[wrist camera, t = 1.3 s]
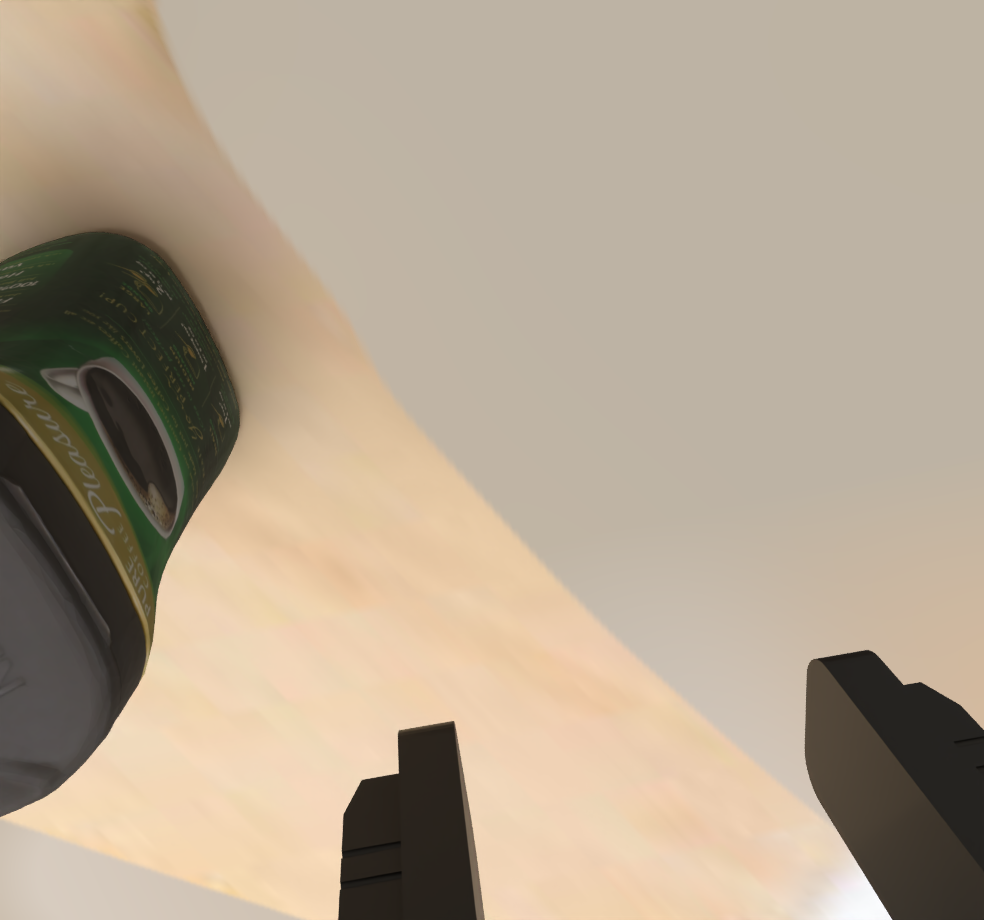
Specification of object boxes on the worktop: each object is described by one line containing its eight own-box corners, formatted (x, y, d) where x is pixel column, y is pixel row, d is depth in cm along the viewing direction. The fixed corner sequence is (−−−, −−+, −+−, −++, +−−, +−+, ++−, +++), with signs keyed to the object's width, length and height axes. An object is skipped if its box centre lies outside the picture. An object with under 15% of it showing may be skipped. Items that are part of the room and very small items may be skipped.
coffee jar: (-63, 282, 30) (-630, 531, 13) (153, 201, 30) (-141, 348, 13) (81, 518, 34) (-214, 944, 17) (273, 447, 34) (167, 807, 17)
